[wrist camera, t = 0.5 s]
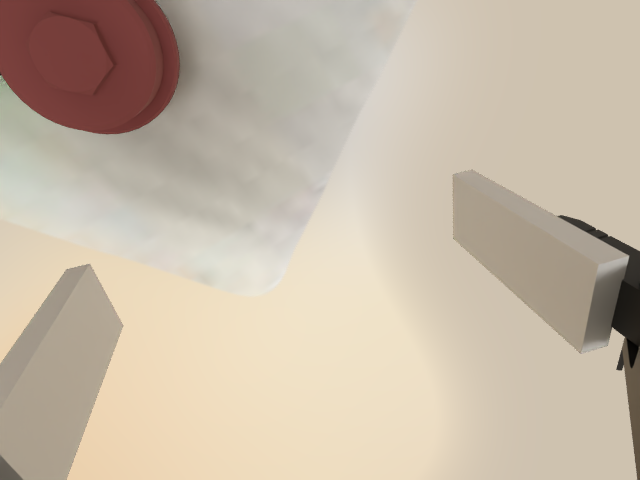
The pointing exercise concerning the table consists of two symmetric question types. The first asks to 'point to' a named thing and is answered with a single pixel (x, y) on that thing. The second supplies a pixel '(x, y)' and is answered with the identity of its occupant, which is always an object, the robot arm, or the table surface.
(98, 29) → the mechanical component
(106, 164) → the table surface
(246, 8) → the table surface
